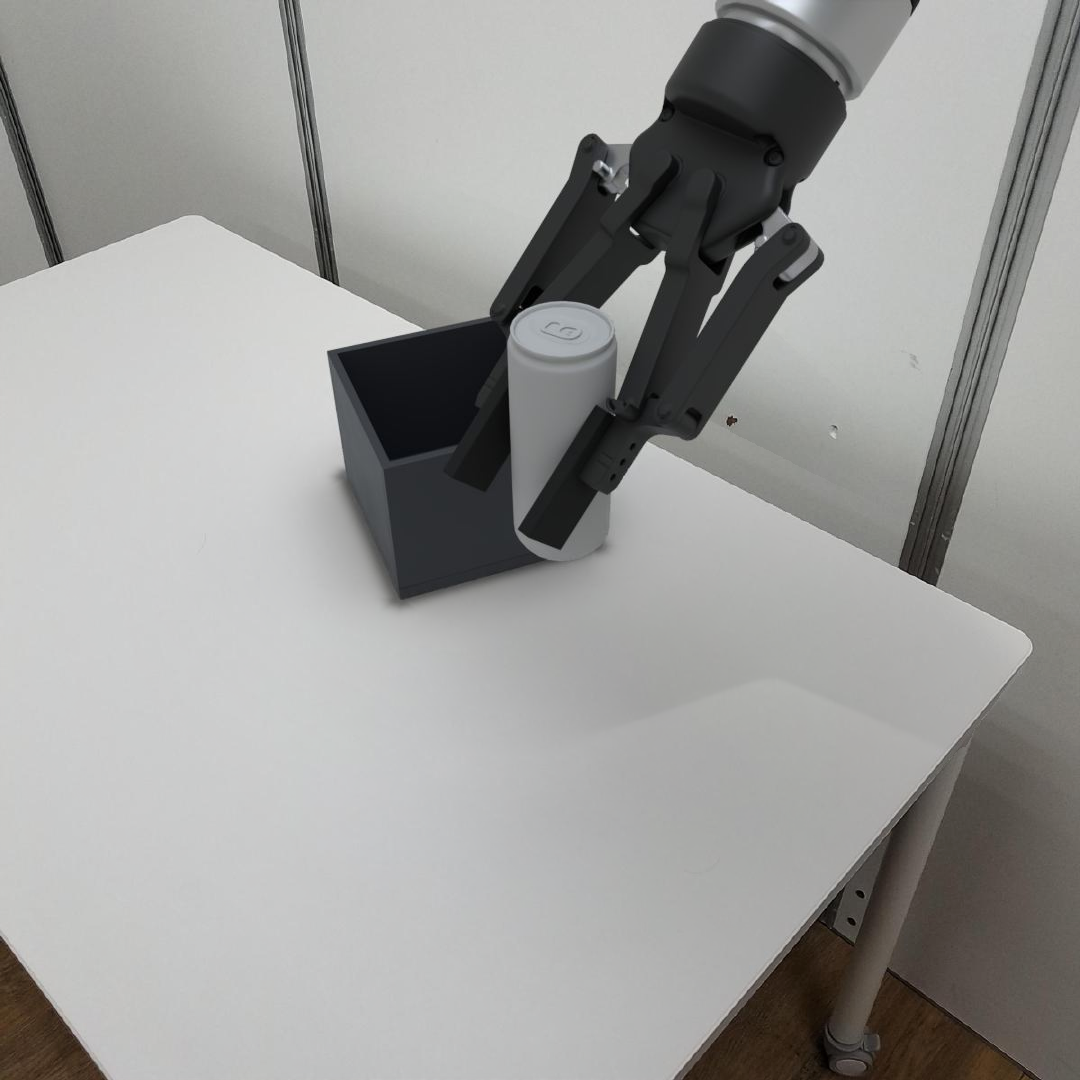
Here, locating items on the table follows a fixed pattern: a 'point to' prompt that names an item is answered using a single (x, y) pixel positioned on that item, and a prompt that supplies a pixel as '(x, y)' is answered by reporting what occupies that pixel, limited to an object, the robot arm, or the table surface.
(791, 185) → the robot arm
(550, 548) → the beverage can
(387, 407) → the trash bin
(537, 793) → the table surface
